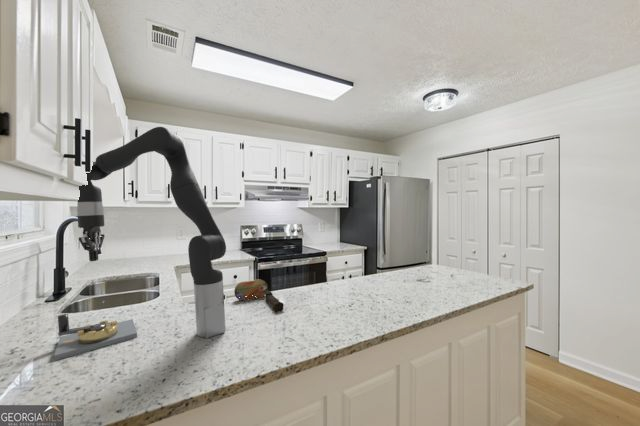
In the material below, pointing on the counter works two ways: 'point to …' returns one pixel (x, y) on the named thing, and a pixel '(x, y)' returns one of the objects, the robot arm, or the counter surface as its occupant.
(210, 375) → the counter surface
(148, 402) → the counter surface
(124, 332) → the base plate
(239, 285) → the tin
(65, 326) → the lever with gold dial
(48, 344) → the counter surface
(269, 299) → the hand tool
